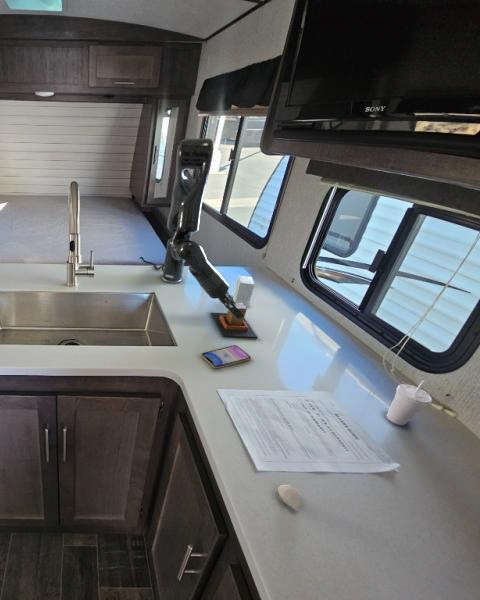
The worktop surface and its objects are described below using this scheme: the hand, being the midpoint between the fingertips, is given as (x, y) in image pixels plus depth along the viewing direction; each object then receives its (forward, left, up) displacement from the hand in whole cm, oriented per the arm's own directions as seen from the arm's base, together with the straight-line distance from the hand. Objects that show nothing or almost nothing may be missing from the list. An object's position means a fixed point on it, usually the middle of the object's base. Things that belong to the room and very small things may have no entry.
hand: (238, 313), depth 120 cm
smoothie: (+42, +27, -6) cm, 50 cm away
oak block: (0, -1, -4) cm, 4 cm away
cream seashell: (+66, -12, -6) cm, 67 cm away
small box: (-20, +9, -6) cm, 23 cm away
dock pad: (0, -1, -6) cm, 6 cm away
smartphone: (+20, -10, -6) cm, 23 cm away
